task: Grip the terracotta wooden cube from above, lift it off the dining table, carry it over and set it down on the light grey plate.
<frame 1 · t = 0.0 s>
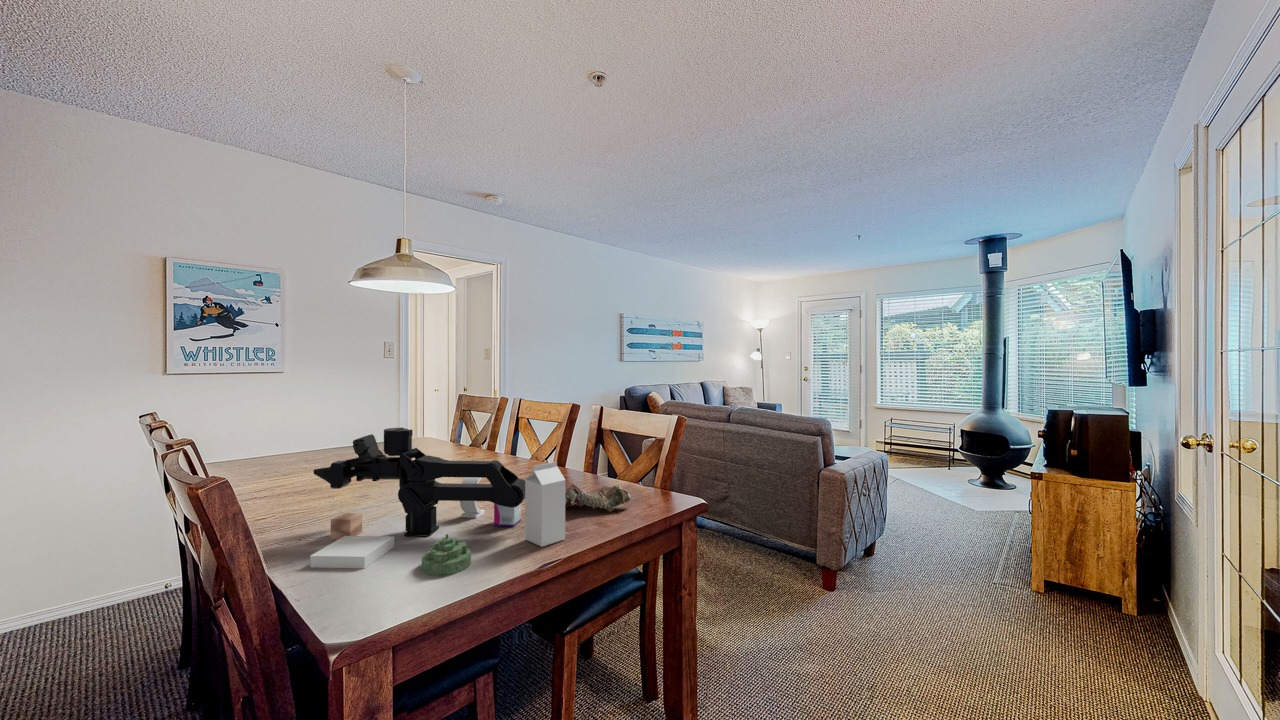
hand: (326, 467, 129), 17 cm above the table, tool horizontal, fingers open, 9 cm apart
terracotta cube: (346, 535, 126), on the table
milk carton: (545, 540, 123), on the table
decorative artifact: (446, 567, 108), on the table
supplement box: (507, 523, 136), on the table
grey plate: (354, 556, 112), on the table
headphone stand: (472, 516, 142), on the table
grey lumpy piece: (590, 508, 150), on the table
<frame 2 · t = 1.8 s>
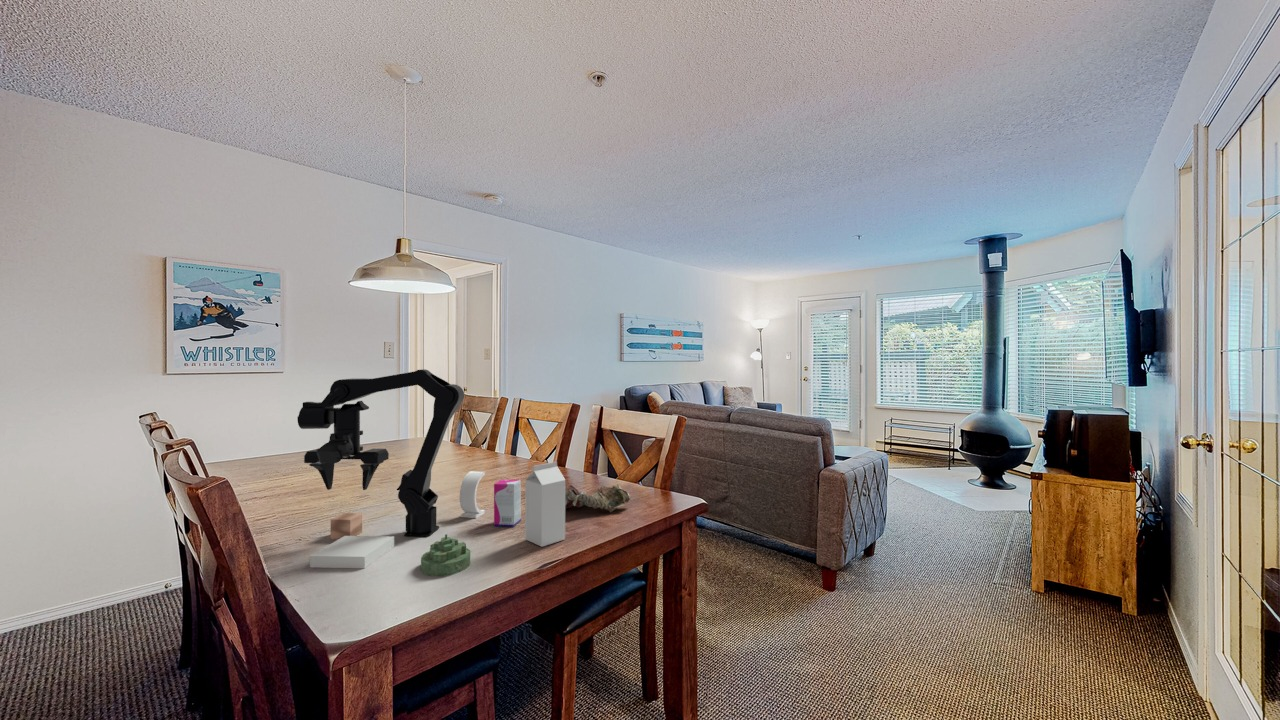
hand: (347, 489, 126), 12 cm above the table, tool pointing down, fingers open, 9 cm apart
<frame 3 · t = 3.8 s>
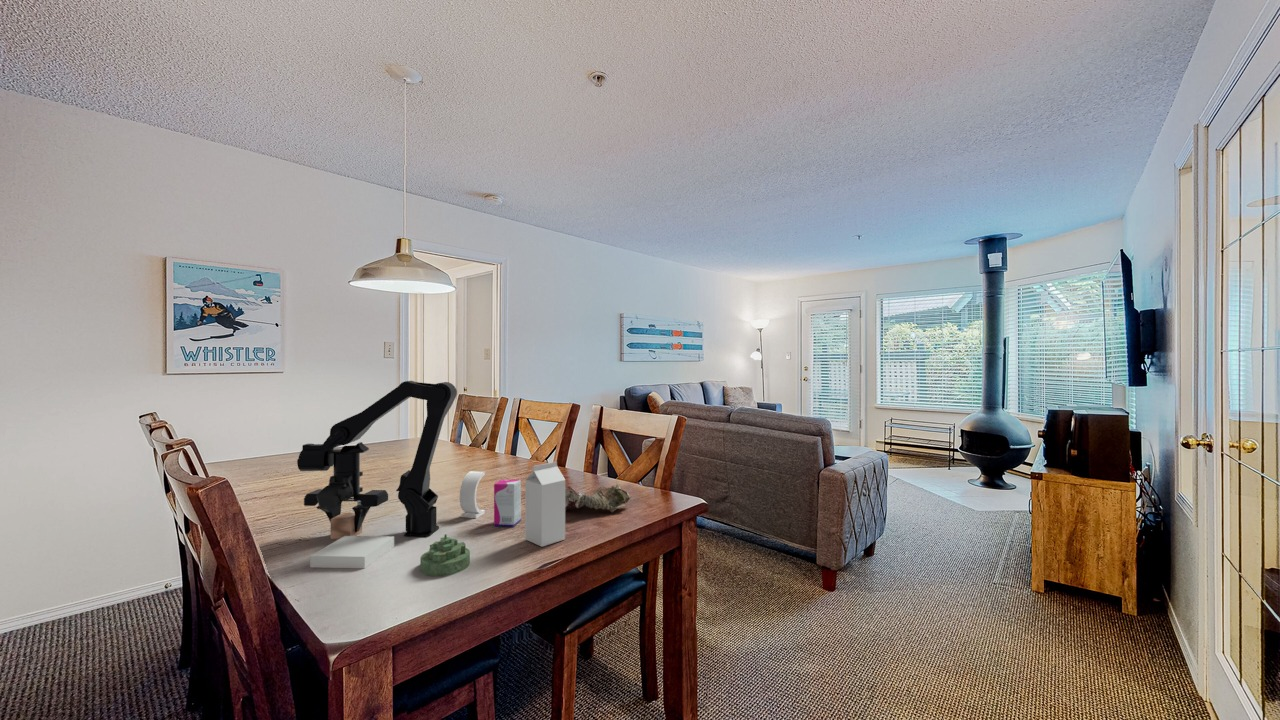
hand: (346, 531, 126), 1 cm above the table, tool pointing down, fingers closed on terracotta cube, 5 cm apart
terracotta cube: (346, 535, 126), on the table, touching gripper
when the fingers open (4 cm above the table, at t = 8.5 s): terracotta cube stays where it is, resting on grey plate.
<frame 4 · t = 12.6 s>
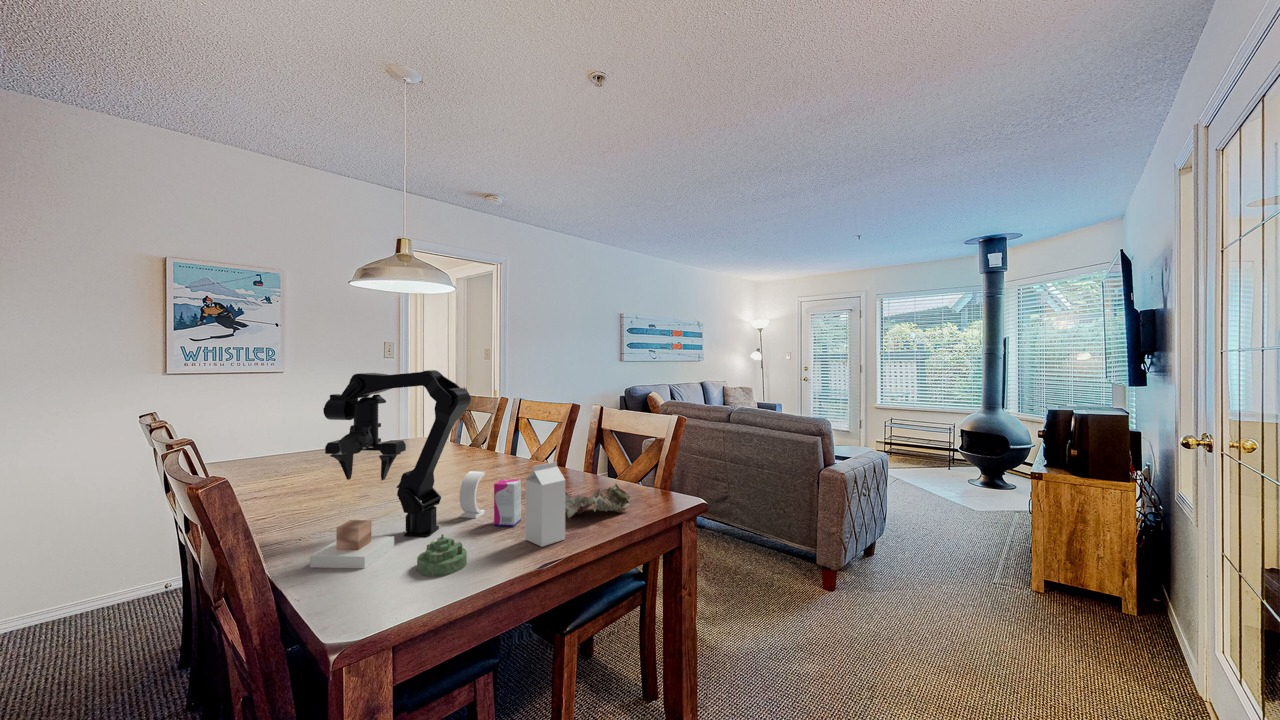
hand: (366, 479, 131), 13 cm above the table, tool pointing down, fingers open, 9 cm apart
terracotta cube: (354, 545, 112), point 2 cm above the table, touching grey plate
grey lumpy piece: (592, 514, 145), on the table
everything else where it was.
at the end: terracotta cube inside the target area on the grey plate (0.0 cm from its centre), point 2.5 cm above the grey plate's base; terracotta cube tilted 0°; the gripper is holding nothing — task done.
